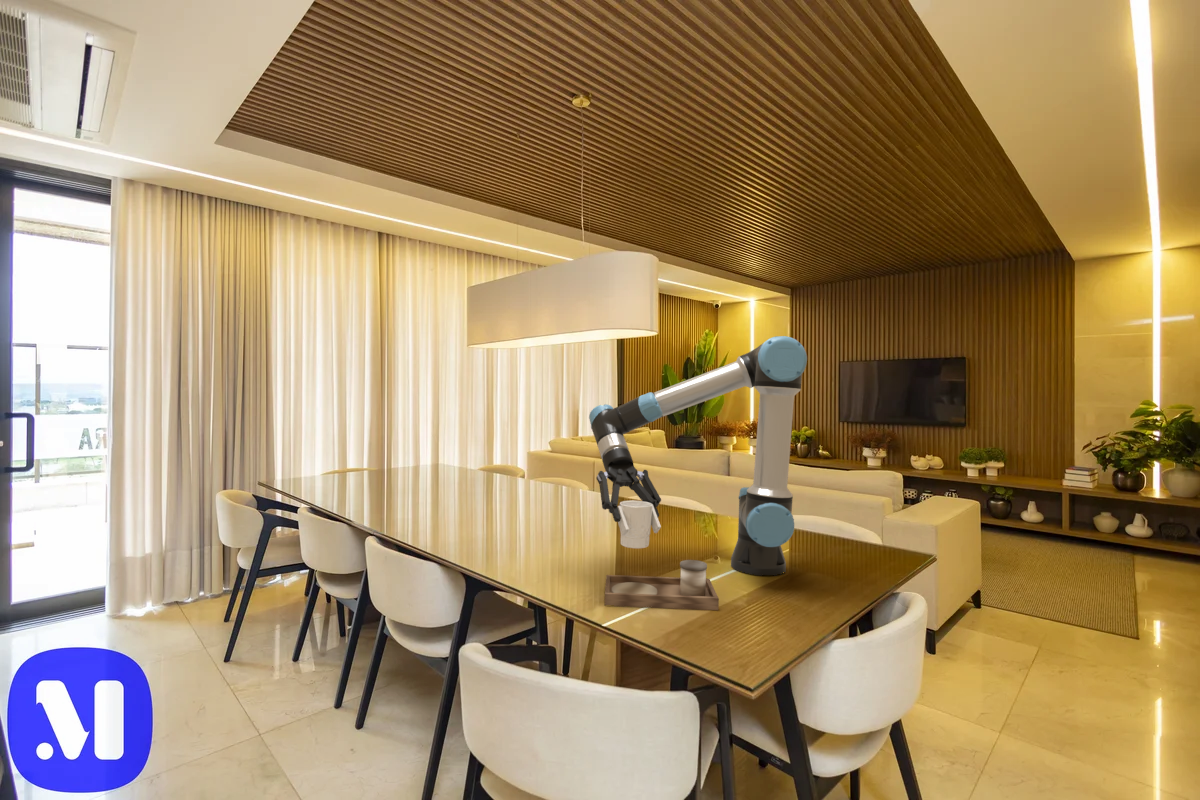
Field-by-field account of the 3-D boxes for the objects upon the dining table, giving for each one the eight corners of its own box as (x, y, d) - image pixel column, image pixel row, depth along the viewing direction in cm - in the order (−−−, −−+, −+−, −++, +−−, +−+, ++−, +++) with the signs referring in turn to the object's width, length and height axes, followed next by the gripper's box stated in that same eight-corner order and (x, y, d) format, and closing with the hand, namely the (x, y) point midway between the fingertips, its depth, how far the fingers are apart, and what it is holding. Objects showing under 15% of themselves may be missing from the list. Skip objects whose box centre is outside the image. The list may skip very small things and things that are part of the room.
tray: (708, 589, 145) (709, 556, 145) (718, 610, 131) (719, 573, 131) (606, 585, 146) (607, 552, 146) (604, 605, 132) (605, 569, 132)
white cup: (649, 550, 134) (650, 507, 134) (615, 547, 136) (617, 505, 135) (652, 542, 142) (654, 501, 142) (621, 539, 143) (622, 499, 143)
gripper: (645, 463, 157) (673, 536, 142) (574, 465, 149) (596, 542, 134) (655, 445, 152) (685, 519, 137) (582, 446, 144) (606, 525, 129)
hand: (641, 531), depth 135 cm, fingers closed on white cup, 8 cm apart
